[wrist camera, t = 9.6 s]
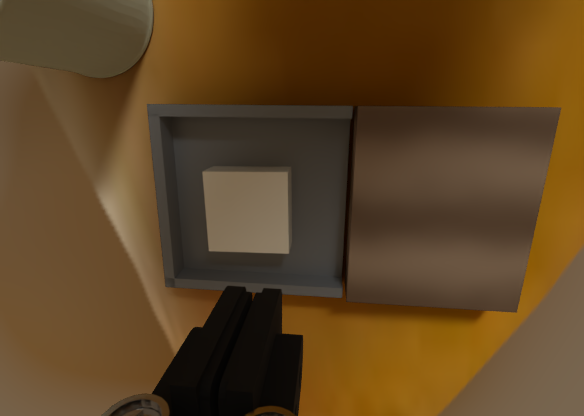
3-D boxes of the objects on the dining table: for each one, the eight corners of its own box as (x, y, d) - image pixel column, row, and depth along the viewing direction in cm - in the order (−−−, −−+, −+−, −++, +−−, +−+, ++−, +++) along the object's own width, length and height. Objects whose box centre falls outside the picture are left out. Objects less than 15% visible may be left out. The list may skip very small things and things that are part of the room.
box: (163, 104, 26) (146, 104, 23) (350, 106, 25) (352, 105, 22) (178, 272, 30) (165, 286, 27) (340, 282, 28) (342, 297, 26)
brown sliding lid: (354, 106, 25) (358, 105, 22) (532, 107, 23) (561, 107, 20) (344, 282, 28) (346, 301, 25) (496, 291, 27) (516, 312, 24)
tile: (287, 172, 23) (291, 166, 26) (202, 171, 24) (213, 166, 26) (288, 253, 25) (292, 241, 27) (208, 251, 26) (218, 239, 28)
